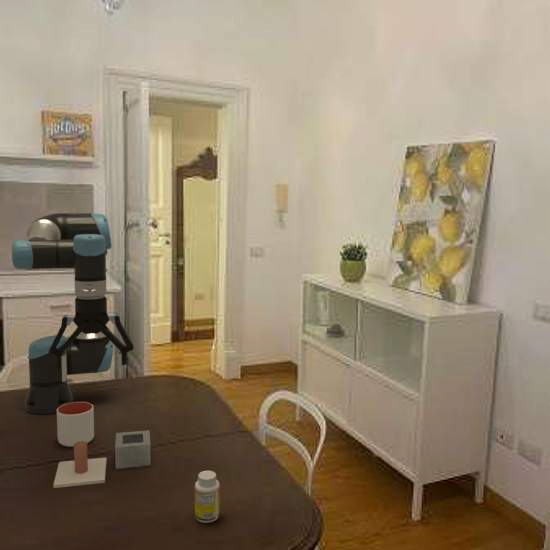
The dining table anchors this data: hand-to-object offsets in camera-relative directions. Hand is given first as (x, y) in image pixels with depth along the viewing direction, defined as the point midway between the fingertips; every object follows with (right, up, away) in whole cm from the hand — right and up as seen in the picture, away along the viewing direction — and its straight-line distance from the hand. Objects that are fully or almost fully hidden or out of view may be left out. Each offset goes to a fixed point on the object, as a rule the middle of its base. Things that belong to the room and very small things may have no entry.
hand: (92, 378), depth 140 cm
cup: (-12, -22, +20) cm, 32 cm away
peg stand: (-4, -25, +2) cm, 25 cm away
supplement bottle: (+31, -29, -16) cm, 45 cm away
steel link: (+8, -24, +10) cm, 27 cm away
